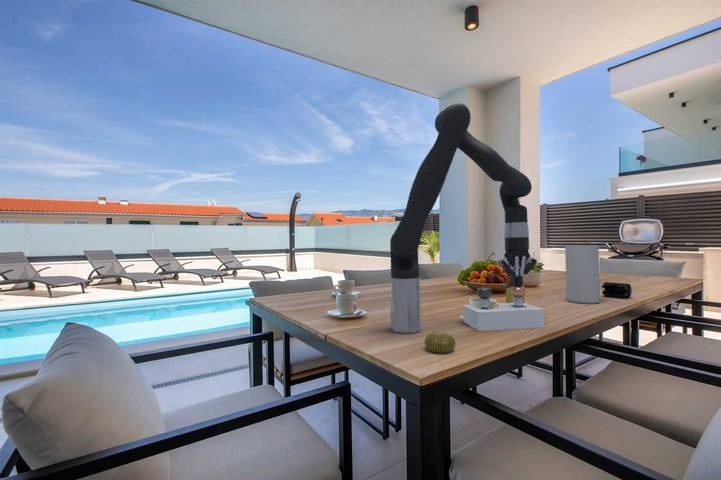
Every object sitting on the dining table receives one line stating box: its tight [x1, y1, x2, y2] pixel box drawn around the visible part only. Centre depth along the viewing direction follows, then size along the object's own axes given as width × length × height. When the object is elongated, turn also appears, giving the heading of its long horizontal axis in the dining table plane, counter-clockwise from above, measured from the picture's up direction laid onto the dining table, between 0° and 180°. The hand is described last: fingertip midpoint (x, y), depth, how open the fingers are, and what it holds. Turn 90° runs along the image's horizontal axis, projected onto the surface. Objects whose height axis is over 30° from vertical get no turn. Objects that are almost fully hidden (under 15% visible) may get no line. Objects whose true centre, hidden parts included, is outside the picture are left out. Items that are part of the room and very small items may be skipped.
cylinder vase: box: [564, 244, 601, 305], centre depth 152 cm, size 12×12×25 cm
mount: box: [462, 302, 545, 332], centre depth 115 cm, size 22×12×6 cm, turn 96°
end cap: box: [601, 281, 633, 300], centre depth 160 cm, size 10×7×7 cm
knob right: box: [510, 286, 526, 308], centre depth 116 cm, size 5×5×8 cm
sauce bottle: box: [505, 263, 525, 303], centre depth 128 cm, size 7×6×20 cm
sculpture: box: [424, 332, 456, 354], centre depth 91 cm, size 8×4×8 cm
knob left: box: [476, 287, 493, 309], centre depth 114 cm, size 5×5×8 cm
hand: (517, 287), depth 116 cm, fingers closed
